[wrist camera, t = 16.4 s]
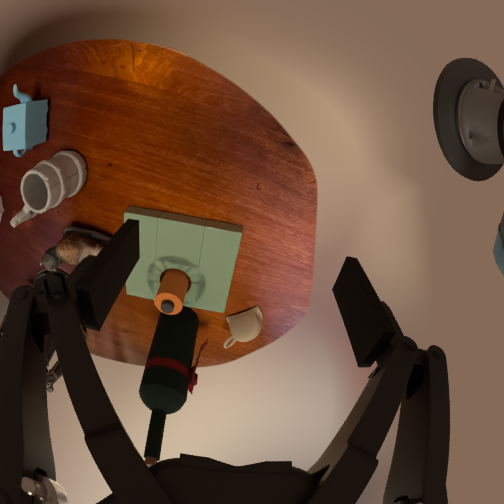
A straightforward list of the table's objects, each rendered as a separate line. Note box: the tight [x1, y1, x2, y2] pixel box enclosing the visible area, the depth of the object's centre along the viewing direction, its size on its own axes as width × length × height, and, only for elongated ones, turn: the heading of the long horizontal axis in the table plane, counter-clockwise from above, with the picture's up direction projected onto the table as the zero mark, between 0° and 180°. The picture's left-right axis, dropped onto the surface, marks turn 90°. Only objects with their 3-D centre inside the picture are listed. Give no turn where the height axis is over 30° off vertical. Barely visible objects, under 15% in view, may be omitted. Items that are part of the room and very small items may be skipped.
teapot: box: [3, 84, 49, 157], centre depth 26 cm, size 12×6×8 cm, turn 170°
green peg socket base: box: [124, 206, 242, 313], centre depth 43 cm, size 18×16×2 cm
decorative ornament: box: [223, 306, 263, 348], centre depth 49 cm, size 4×8×5 cm, turn 113°
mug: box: [10, 151, 87, 227], centre depth 31 cm, size 8×12×12 cm, turn 125°
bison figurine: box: [40, 227, 111, 272], centre depth 38 cm, size 12×7×10 cm, turn 71°
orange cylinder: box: [154, 268, 190, 315], centre depth 42 cm, size 4×4×9 cm
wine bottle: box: [139, 306, 208, 466], centre depth 38 cm, size 8×10×30 cm
